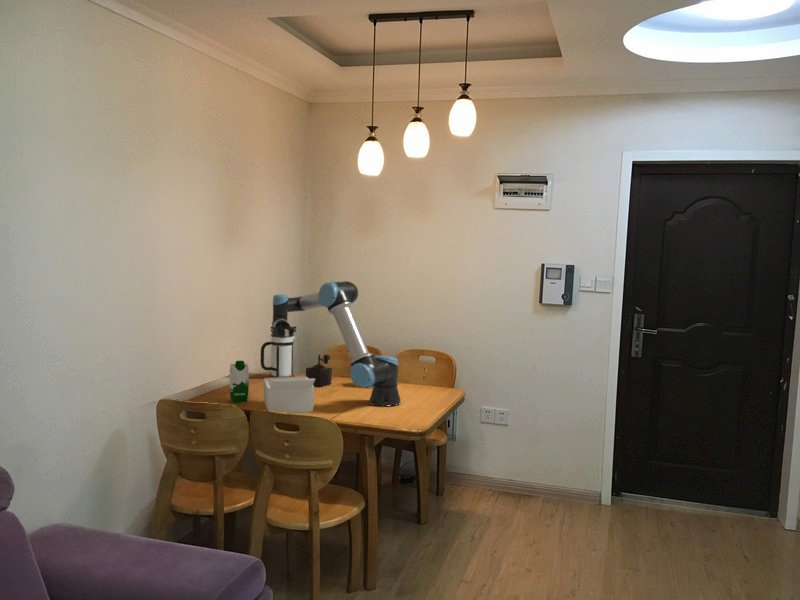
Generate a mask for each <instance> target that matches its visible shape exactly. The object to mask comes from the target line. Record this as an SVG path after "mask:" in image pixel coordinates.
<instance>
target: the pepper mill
mask: <svg viewBox="0 0 800 600" xmlns="http://www.w3.org/2000/svg"><path fill="white" fill-rule="evenodd" d="M317 359H318V362H317V363H316V364H314V365H313V366H310V367H305V377H308V378H309V379H315V381H314V383H313V385H314V388H315V387H316V388H322V387H323V386H324V387H326V386H327V385H328V386H330V384H331V385H332V378H333V377H332V376H333V375H332V373H333V371H332V370H333V368H332V367H329V366H325V365H328V364H329V361H330V360H331V356H330V355H329V354H324V355H323V357H321V354H318V357H317ZM321 361H322V363H323V364H322V363H321ZM324 364H325V365H324ZM324 387H323V388H324Z"/></svg>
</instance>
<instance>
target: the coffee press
mask: <svg viewBox="0 0 800 600" xmlns="http://www.w3.org/2000/svg"><path fill="white" fill-rule="evenodd" d="M270 337H271V340H270V341H266V342H264V343H263V344H261V348H260V367H261V368H262V369H263V370H264V371H271V372H270V373H269V377H270V376H271V377H270V378H273V377H275V378H277V377H296V376H295V375H294V368H293V366H294V364H293V363H294V340H295V339H296V336H295V335H294V333H293V334H291V333H290V334H289V337H286V336H285V335H284V336H282V335H279V334H276V333H274V332H271V334H270ZM267 346H271V348H270V349H271V352H270V353H271V354H270V355H271V360H270V363H271V364H270V365H271V366H265V348H266V347H267Z"/></svg>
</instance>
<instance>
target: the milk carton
mask: <svg viewBox="0 0 800 600" xmlns="http://www.w3.org/2000/svg"><path fill="white" fill-rule="evenodd" d="M249 369H250V368H249V365H248V363H246V362H245V361H244V360H235V363H230V365H229V396H230V401H231V403H232V404H240V403H239V402H247V403H248V401H249V400H248V399H249V383H250V382H249V380H250V378H249V375H250V374H249V371H250V370H249Z"/></svg>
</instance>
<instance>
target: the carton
mask: <svg viewBox="0 0 800 600" xmlns="http://www.w3.org/2000/svg"><path fill="white" fill-rule="evenodd" d="M286 379H309V378H308V377H306V376H295V377H293V376H292V377H290V376H287V377H277V378H276V377H263V401H264V406H265V408H266V411H267V410H268V411H275V412H287V413H288V414H307V413H308V412H309V413H313V411H314V403H315V401H314V400H315V386H314V385H312V387H300V388H273V389H270V387H271V383H272V380H286ZM268 411H267V412H268ZM309 413H308V414H309Z"/></svg>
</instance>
